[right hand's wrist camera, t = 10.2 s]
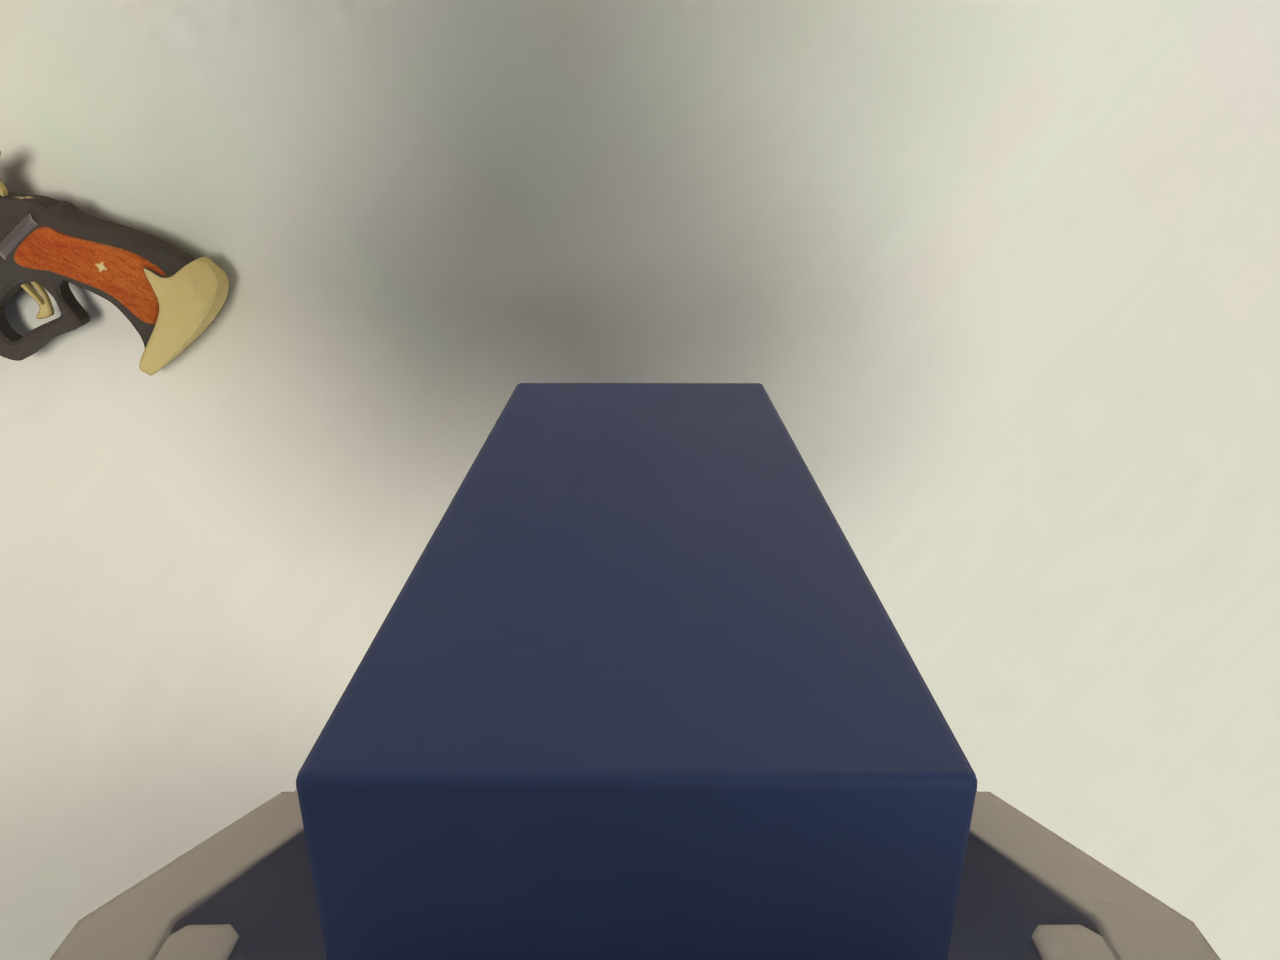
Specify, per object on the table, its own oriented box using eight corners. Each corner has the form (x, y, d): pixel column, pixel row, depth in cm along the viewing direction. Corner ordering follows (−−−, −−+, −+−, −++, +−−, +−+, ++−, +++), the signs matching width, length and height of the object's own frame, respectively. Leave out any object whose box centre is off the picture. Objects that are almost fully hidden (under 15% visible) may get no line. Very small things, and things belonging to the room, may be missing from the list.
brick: (535, 736, 16) (406, 1430, 7) (516, 381, 14) (287, 779, 5) (744, 736, 16) (868, 1431, 7) (762, 382, 14) (983, 779, 5)
